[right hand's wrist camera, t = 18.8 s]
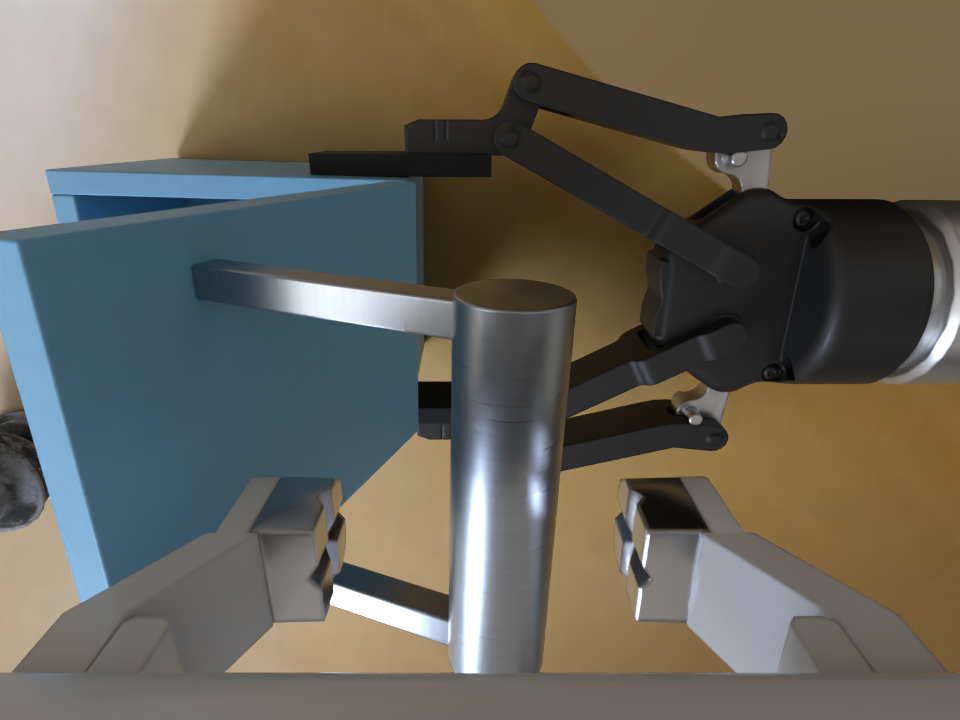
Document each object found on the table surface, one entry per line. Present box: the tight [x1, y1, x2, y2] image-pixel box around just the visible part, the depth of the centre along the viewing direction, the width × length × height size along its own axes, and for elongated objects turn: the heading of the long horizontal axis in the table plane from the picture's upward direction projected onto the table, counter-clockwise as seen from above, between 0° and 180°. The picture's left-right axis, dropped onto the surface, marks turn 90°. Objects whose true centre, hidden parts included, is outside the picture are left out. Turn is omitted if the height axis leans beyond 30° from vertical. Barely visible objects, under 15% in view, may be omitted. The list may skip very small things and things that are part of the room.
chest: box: [46, 158, 424, 373], centre depth 25 cm, size 12×9×9 cm
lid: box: [0, 181, 577, 673], centre depth 14 cm, size 12×9×8 cm
